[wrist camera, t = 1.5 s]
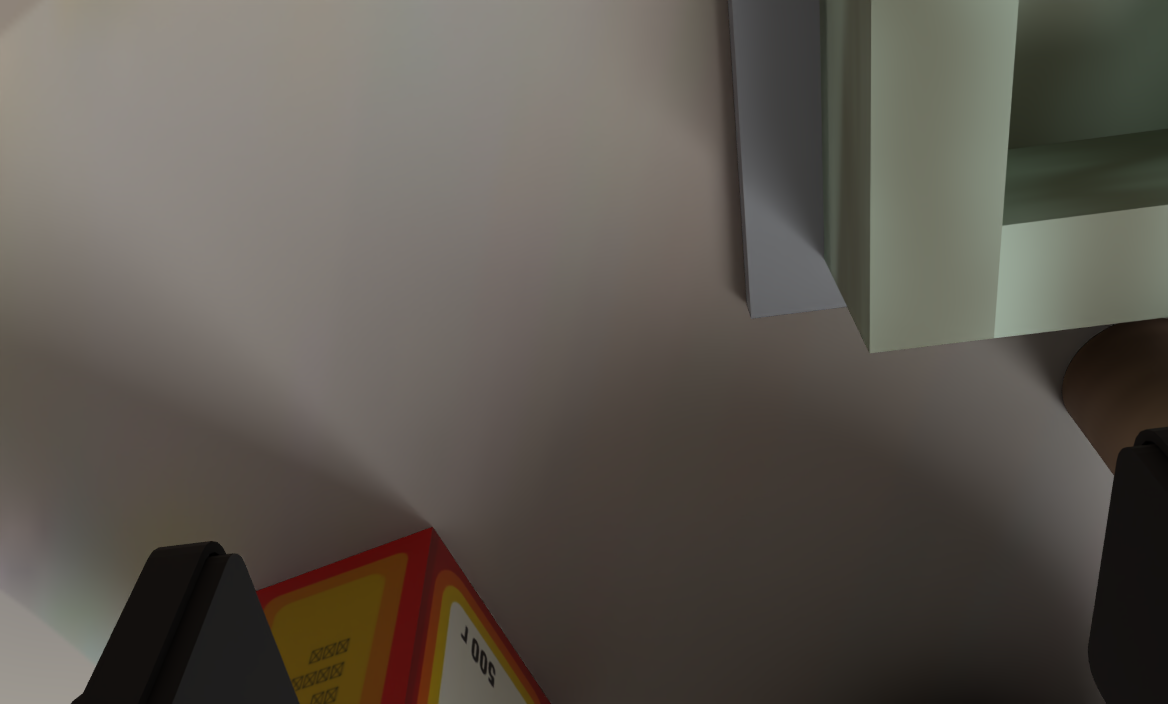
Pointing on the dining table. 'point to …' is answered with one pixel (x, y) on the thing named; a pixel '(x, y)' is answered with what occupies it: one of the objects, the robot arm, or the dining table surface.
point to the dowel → (1119, 385)
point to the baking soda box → (394, 632)
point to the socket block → (994, 165)
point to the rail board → (780, 155)
